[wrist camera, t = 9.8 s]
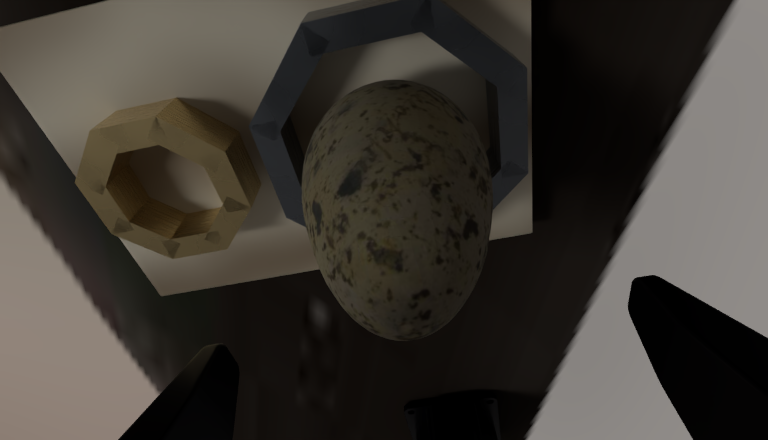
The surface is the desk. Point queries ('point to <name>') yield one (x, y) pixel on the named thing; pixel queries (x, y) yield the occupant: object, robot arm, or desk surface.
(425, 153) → the decorative egg
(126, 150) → the narrow collar
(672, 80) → the desk surface
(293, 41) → the collar
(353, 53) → the fitting board
